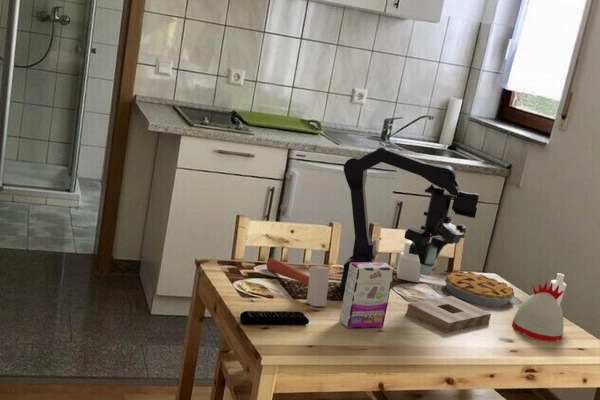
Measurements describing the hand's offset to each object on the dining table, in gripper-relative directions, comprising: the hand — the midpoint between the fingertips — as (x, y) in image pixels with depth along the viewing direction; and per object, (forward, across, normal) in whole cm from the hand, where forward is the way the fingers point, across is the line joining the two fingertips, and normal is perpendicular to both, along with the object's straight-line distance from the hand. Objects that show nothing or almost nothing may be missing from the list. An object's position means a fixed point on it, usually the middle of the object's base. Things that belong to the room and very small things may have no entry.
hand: (427, 263), depth 216 cm
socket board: (+13, +2, -9) cm, 16 cm away
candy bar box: (+13, -28, -3) cm, 31 cm away
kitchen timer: (+14, +23, -25) cm, 37 cm away
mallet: (+13, -27, +24) cm, 39 cm away
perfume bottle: (+14, +35, -22) cm, 44 cm away
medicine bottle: (+13, +19, +20) cm, 31 cm away
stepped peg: (+3, 0, 0) cm, 3 cm away
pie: (+14, +31, +1) cm, 34 cm away
